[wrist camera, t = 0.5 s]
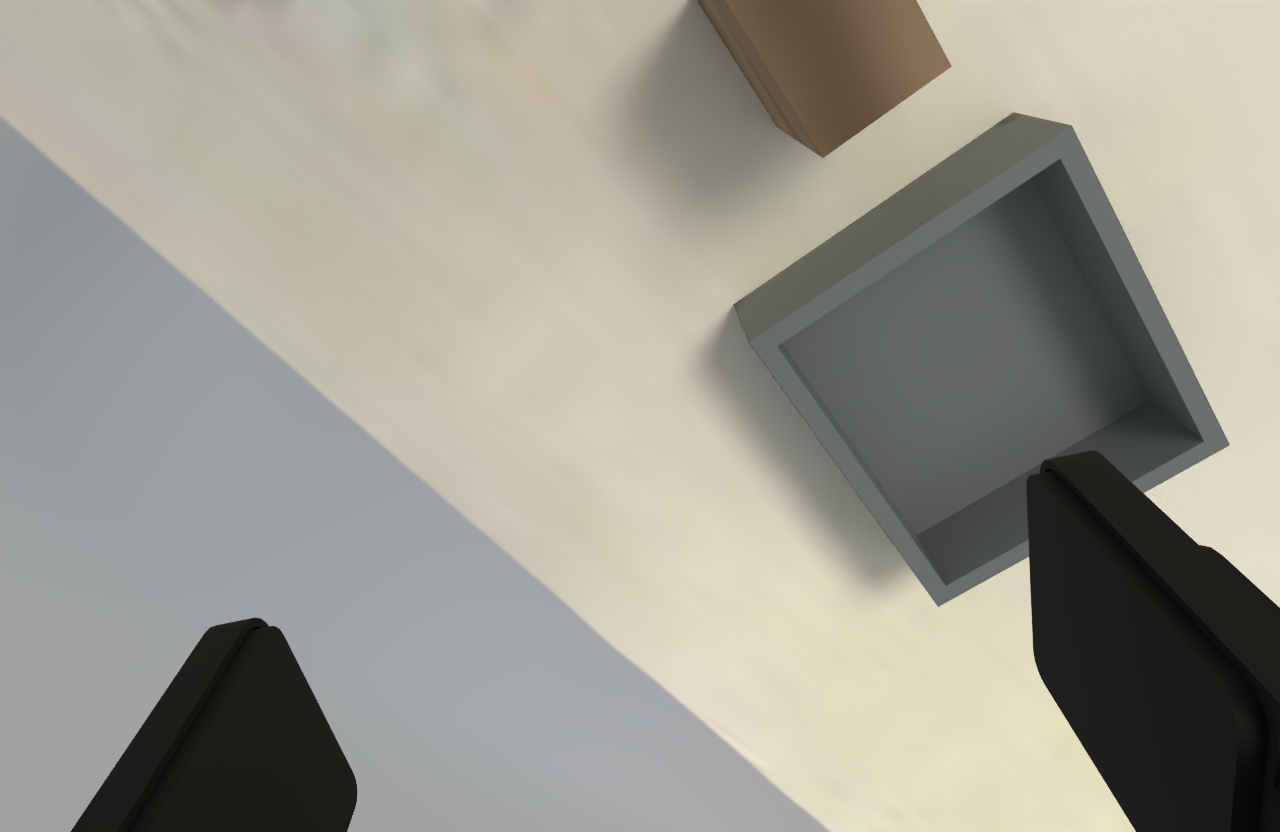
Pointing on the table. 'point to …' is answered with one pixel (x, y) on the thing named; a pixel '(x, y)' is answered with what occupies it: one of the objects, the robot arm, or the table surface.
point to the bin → (981, 350)
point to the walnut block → (828, 60)
